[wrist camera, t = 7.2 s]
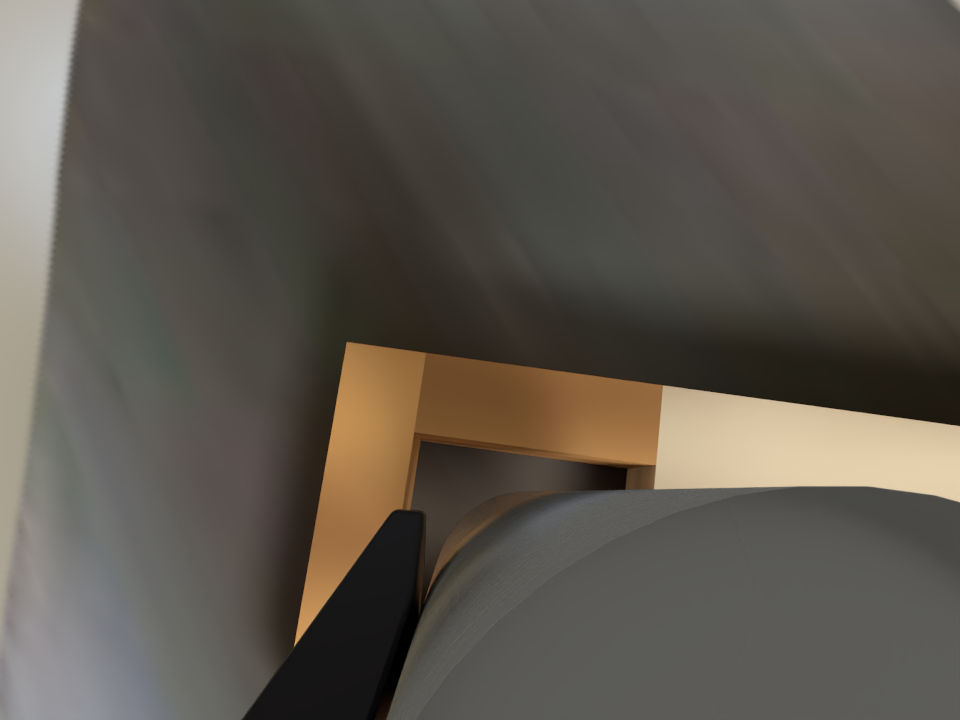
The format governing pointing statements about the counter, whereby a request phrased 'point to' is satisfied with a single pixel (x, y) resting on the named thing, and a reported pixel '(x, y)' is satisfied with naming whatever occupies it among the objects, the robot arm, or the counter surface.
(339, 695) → the robot arm
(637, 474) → the rail board
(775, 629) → the steel peg
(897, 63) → the counter surface
